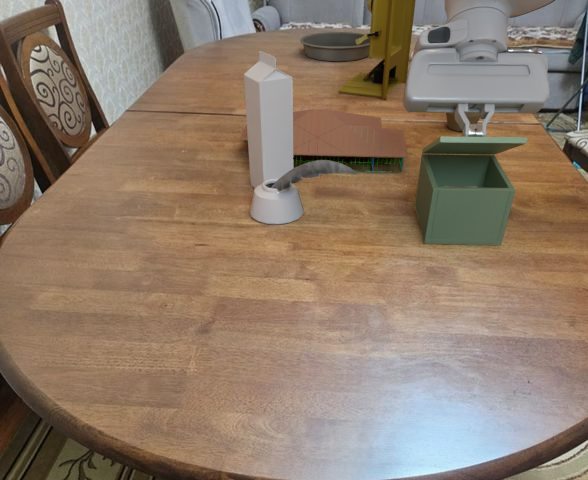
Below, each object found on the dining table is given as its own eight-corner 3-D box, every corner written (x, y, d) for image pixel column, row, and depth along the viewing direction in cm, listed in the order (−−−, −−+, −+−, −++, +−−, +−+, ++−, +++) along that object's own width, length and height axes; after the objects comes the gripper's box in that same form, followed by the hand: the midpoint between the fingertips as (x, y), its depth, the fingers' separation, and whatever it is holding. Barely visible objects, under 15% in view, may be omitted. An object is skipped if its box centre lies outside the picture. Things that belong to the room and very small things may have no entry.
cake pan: (368, 45, 191) (369, 30, 188) (380, 62, 172) (381, 46, 169) (298, 46, 190) (297, 32, 187) (302, 63, 171) (302, 47, 168)
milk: (264, 197, 97) (257, 60, 83) (250, 185, 101) (241, 52, 87) (294, 190, 99) (292, 55, 85) (279, 178, 103) (275, 47, 89)
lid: (526, 143, 74) (527, 137, 73) (439, 142, 74) (440, 136, 74) (495, 154, 87) (495, 149, 87) (421, 153, 88) (422, 148, 88)
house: (253, 130, 124) (251, 92, 119) (400, 133, 121) (404, 94, 116) (235, 169, 107) (232, 126, 101) (406, 174, 104) (411, 130, 99)
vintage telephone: (368, 71, 163) (377, -53, 144) (414, 76, 158) (429, -52, 139) (328, 100, 142) (332, -42, 122) (379, 106, 137) (392, -40, 118)
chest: (501, 245, 83) (515, 190, 77) (424, 243, 84) (433, 189, 78) (483, 206, 93) (494, 154, 88) (414, 204, 94) (421, 153, 88)
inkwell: (259, 198, 97) (256, 141, 90) (360, 209, 93) (364, 151, 86) (241, 221, 90) (237, 161, 83) (349, 235, 86) (352, 173, 79)
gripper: (539, 61, 82) (539, 149, 81) (402, 60, 83) (400, 147, 82) (557, 33, 76) (557, 129, 75) (408, 32, 77) (406, 127, 76)
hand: (474, 138), depth 78 cm, fingers closed
